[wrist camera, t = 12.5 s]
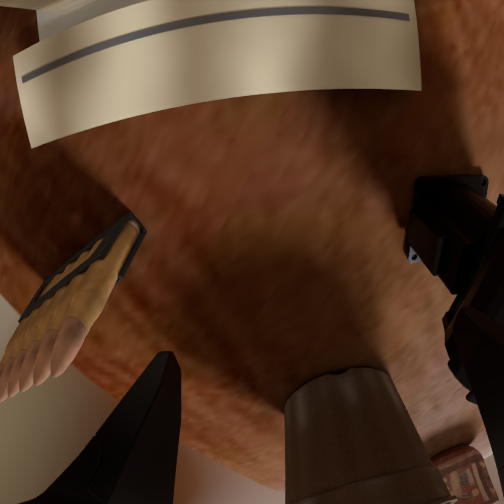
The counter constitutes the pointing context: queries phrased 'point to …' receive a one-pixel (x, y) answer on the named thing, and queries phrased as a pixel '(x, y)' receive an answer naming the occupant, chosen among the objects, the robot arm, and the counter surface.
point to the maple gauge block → (49, 5)
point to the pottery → (466, 475)
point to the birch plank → (211, 57)
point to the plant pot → (356, 445)
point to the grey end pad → (77, 16)
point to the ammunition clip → (68, 308)
